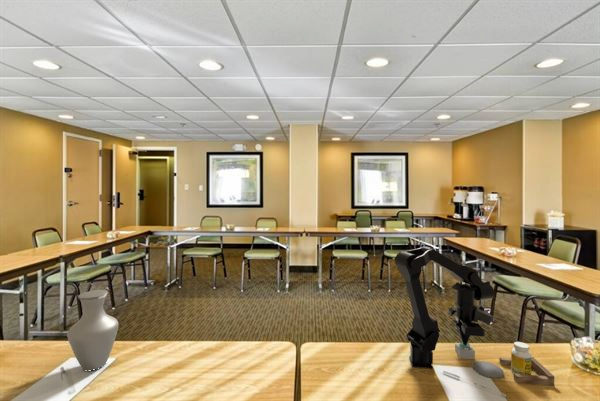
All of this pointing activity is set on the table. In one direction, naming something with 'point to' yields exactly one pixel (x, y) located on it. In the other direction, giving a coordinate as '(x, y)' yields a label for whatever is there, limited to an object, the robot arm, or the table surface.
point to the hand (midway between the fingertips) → (464, 343)
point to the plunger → (464, 345)
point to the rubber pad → (488, 369)
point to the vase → (93, 332)
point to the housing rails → (540, 370)
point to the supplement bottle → (521, 359)
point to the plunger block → (464, 352)
